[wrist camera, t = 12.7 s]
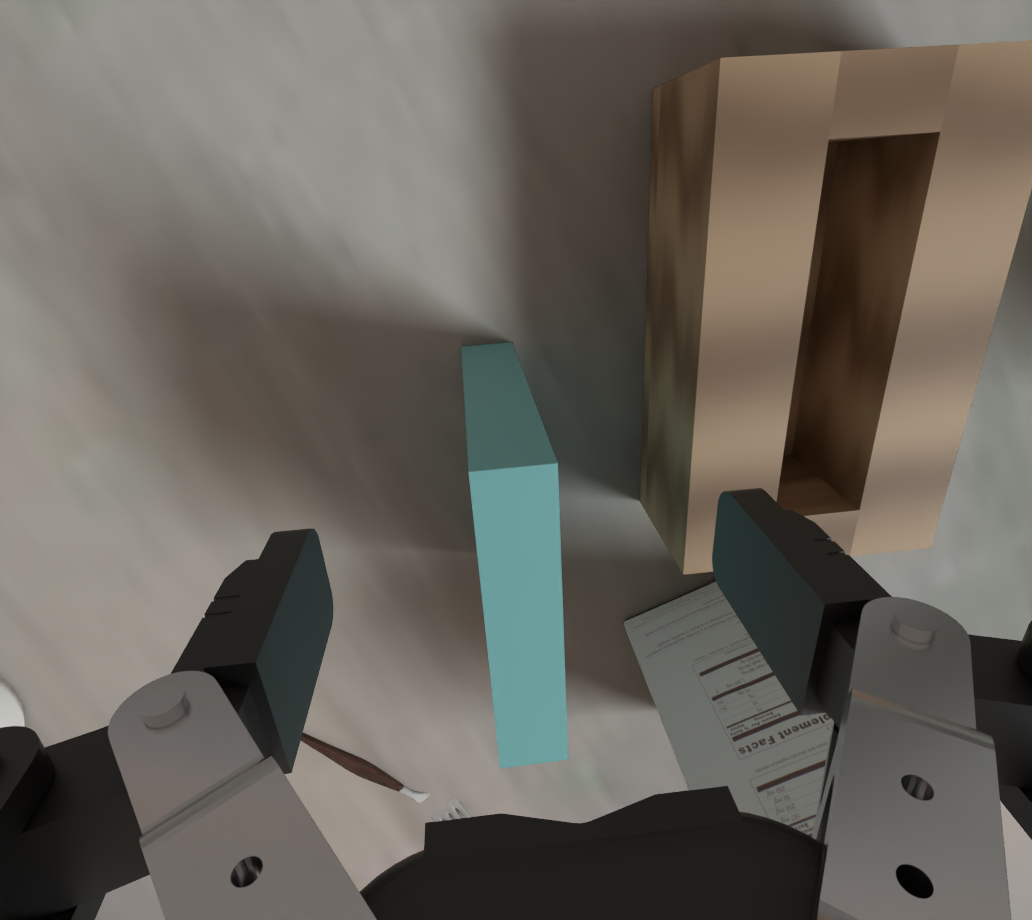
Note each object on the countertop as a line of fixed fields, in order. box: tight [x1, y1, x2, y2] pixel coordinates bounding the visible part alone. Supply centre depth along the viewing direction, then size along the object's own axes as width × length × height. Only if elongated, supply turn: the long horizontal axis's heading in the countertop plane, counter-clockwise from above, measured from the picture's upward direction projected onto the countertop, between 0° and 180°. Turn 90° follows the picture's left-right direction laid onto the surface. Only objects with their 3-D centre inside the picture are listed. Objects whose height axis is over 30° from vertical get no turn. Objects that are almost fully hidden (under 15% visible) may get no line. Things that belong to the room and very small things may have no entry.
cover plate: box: [461, 342, 568, 768], centre depth 25 cm, size 12×2×14 cm, turn 3°
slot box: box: [640, 41, 1032, 575], centre depth 27 cm, size 20×12×7 cm, turn 3°
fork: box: [301, 733, 470, 822], centre depth 41 cm, size 3×16×2 cm, turn 45°
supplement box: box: [624, 582, 834, 837], centre depth 31 cm, size 10×9×17 cm
